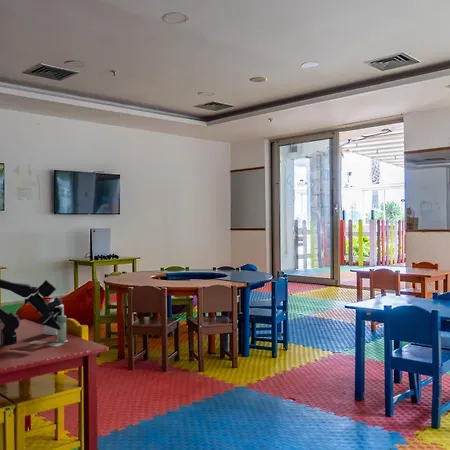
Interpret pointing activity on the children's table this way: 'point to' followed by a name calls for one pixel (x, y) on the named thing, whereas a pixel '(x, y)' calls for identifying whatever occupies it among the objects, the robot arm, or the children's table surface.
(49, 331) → the milk carton
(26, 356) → the children's table surface
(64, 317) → the green joystick knob
